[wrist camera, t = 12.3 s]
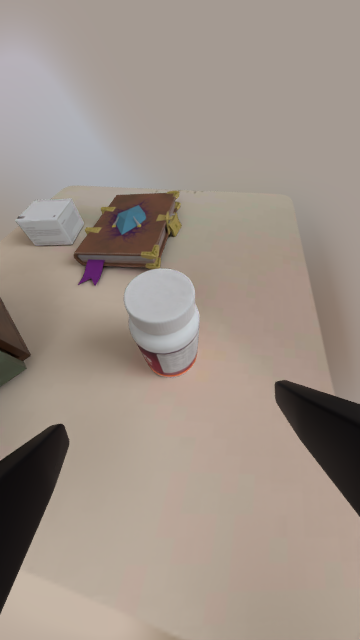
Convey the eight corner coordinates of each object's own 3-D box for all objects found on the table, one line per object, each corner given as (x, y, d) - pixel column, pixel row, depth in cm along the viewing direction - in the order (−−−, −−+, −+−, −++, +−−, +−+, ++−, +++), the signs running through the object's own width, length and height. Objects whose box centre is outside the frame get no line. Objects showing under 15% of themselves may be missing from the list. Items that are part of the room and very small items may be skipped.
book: (69, 288, 31) (47, 264, 26) (119, 211, 44) (111, 186, 39) (164, 294, 28) (157, 268, 24) (188, 209, 41) (186, 183, 37)
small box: (85, 223, 40) (72, 197, 36) (72, 245, 36) (56, 219, 31) (50, 224, 40) (34, 198, 36) (34, 246, 36) (13, 220, 32)
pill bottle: (140, 342, 24) (106, 278, 14) (184, 324, 25) (179, 253, 15) (157, 388, 20) (127, 344, 11) (206, 365, 22) (218, 307, 12)
